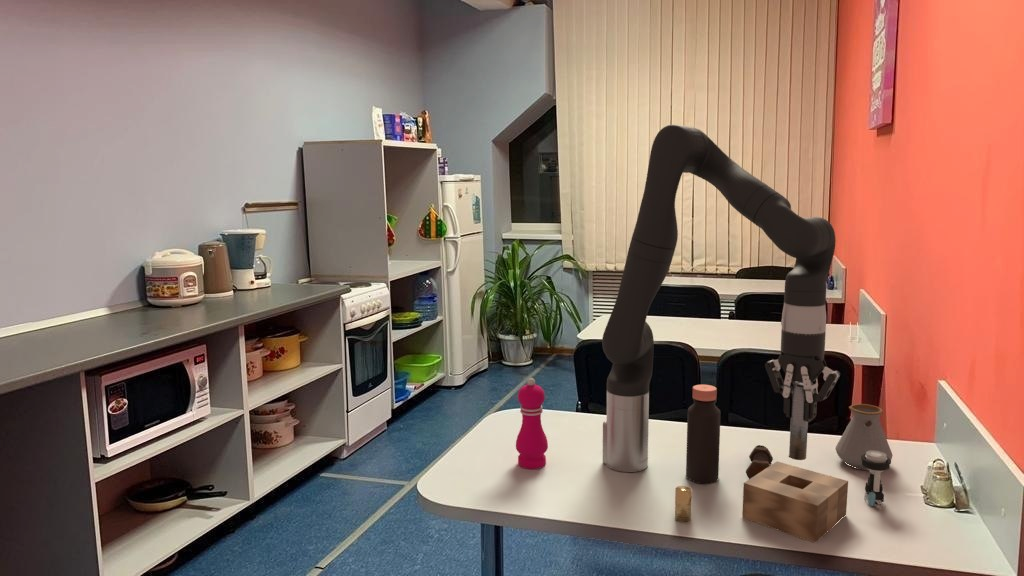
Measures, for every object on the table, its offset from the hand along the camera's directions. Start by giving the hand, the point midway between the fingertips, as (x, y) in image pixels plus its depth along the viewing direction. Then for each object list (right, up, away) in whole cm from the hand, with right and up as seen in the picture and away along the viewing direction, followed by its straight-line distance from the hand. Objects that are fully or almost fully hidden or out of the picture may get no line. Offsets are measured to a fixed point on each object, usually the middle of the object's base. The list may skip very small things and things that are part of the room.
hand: (799, 418), depth 140 cm
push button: (+18, -18, +8) cm, 27 cm away
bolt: (+1, -16, +24) cm, 29 cm away
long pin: (0, -8, +1) cm, 8 cm away
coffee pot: (+23, -16, +23) cm, 36 cm away
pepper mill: (-49, -16, +30) cm, 59 cm away
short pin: (-21, -20, +3) cm, 29 cm away
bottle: (-13, -17, +21) cm, 30 cm away
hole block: (0, -19, +3) cm, 20 cm away
